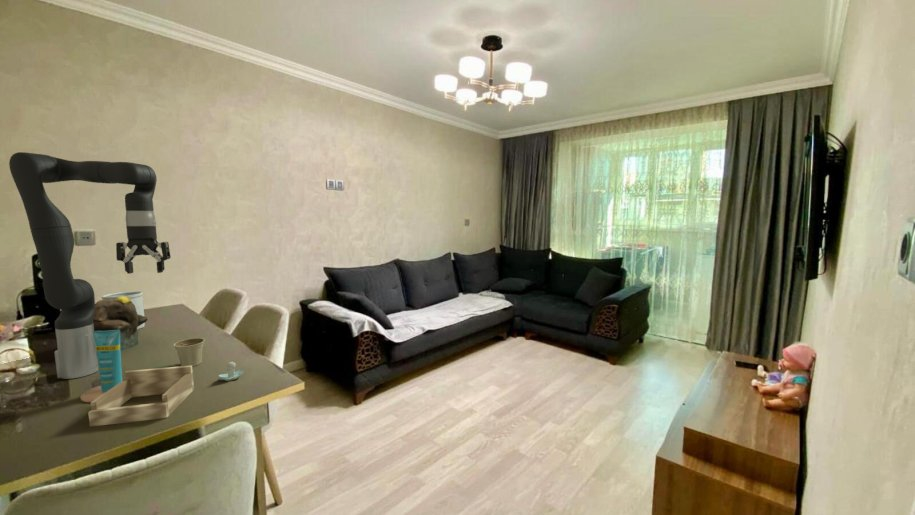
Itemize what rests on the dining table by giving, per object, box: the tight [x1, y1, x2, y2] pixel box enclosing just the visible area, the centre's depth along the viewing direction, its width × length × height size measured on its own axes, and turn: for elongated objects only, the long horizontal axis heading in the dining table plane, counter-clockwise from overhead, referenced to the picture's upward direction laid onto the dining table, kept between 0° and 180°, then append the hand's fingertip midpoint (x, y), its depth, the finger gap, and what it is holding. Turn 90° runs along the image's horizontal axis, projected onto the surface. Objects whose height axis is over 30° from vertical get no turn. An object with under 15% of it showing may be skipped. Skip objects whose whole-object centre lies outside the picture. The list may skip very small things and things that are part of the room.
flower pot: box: [173, 337, 206, 367], centre depth 138 cm, size 9×9×9 cm
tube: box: [93, 330, 123, 392], centre depth 116 cm, size 7×5×19 cm, turn 104°
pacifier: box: [218, 361, 245, 382], centre depth 127 cm, size 7×6×6 cm
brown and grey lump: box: [93, 296, 148, 352], centre depth 154 cm, size 23×25×22 cm
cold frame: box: [88, 365, 195, 427], centre depth 108 cm, size 17×17×8 cm
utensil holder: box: [101, 290, 146, 330], centre depth 181 cm, size 15×15×18 cm
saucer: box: [80, 384, 105, 403], centre depth 117 cm, size 13×13×1 cm
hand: (145, 272), depth 125 cm, fingers open, 8 cm apart
